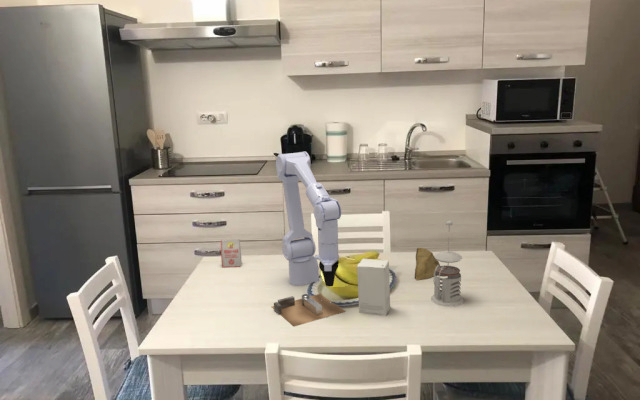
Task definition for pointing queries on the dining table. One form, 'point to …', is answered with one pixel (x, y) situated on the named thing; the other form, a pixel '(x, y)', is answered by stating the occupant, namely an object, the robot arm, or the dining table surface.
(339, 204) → the robot arm
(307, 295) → the swing bar
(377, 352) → the dining table surface
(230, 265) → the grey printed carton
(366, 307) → the skincare box
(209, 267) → the dining table surface
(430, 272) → the rock
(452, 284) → the french press
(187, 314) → the dining table surface
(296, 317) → the lock board
